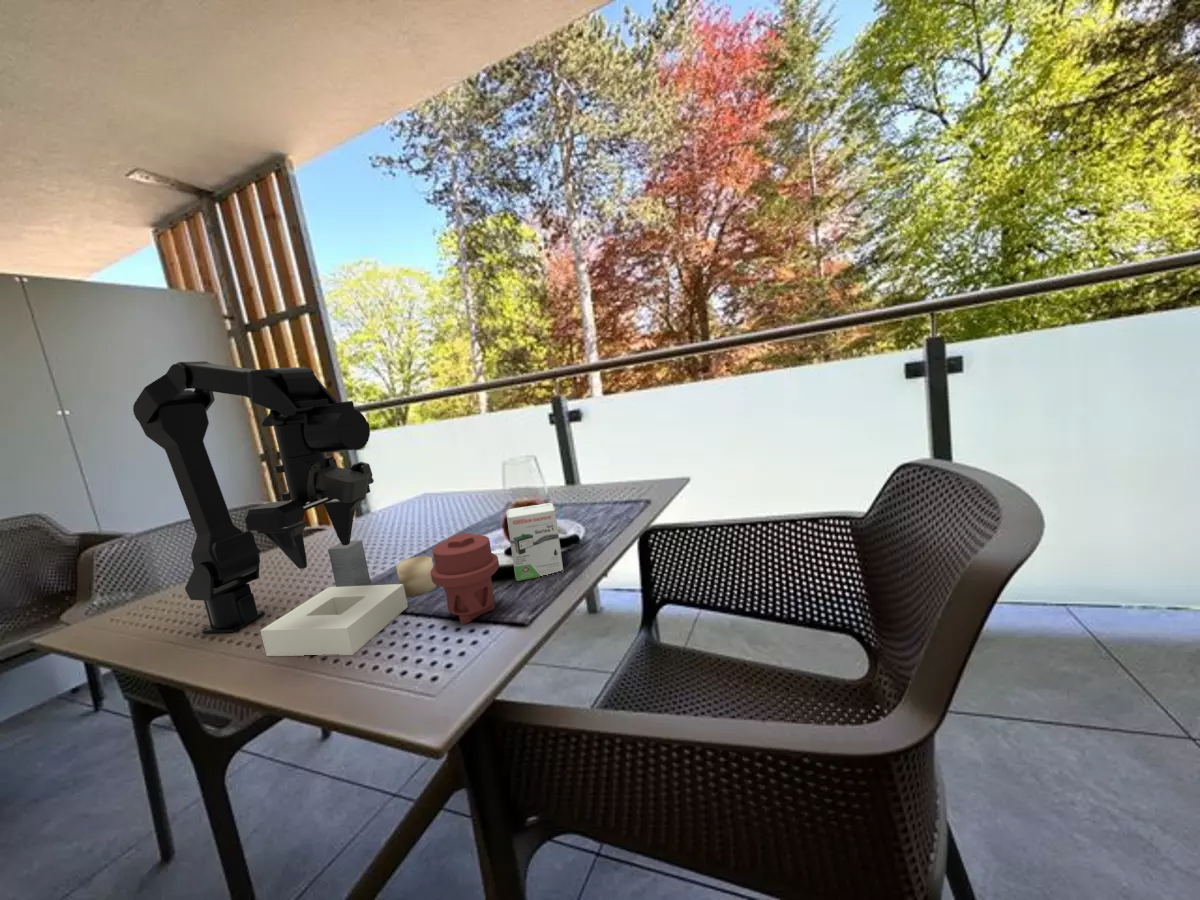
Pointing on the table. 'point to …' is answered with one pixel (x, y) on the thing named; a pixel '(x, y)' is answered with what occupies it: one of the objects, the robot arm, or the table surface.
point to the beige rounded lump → (416, 575)
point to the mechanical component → (466, 574)
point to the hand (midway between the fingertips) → (325, 555)
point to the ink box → (534, 541)
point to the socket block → (335, 621)
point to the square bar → (349, 564)
